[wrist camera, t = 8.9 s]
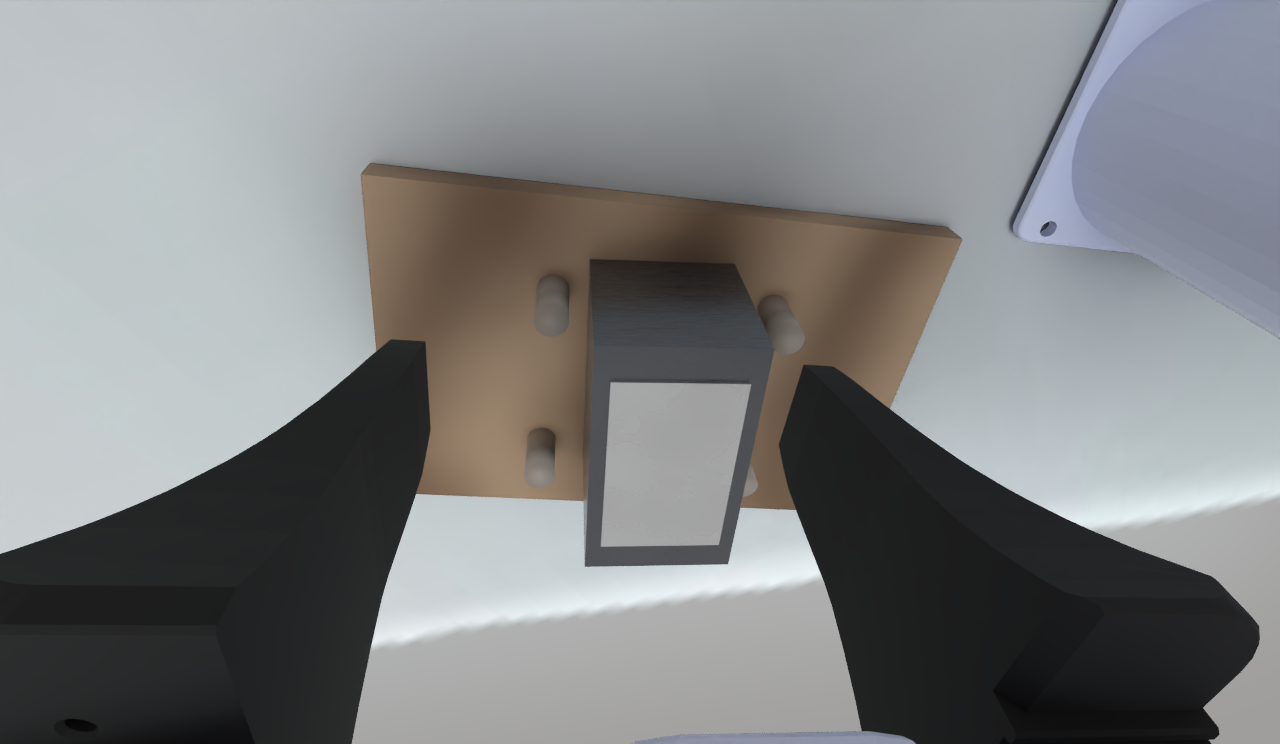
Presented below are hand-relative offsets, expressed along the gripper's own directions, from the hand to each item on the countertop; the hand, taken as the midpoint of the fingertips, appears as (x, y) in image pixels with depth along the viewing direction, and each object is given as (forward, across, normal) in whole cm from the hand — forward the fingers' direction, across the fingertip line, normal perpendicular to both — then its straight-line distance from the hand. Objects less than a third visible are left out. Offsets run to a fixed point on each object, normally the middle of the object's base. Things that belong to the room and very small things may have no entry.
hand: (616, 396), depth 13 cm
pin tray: (+9, -2, +5) cm, 11 cm away
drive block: (+8, -2, +5) cm, 10 cm away
